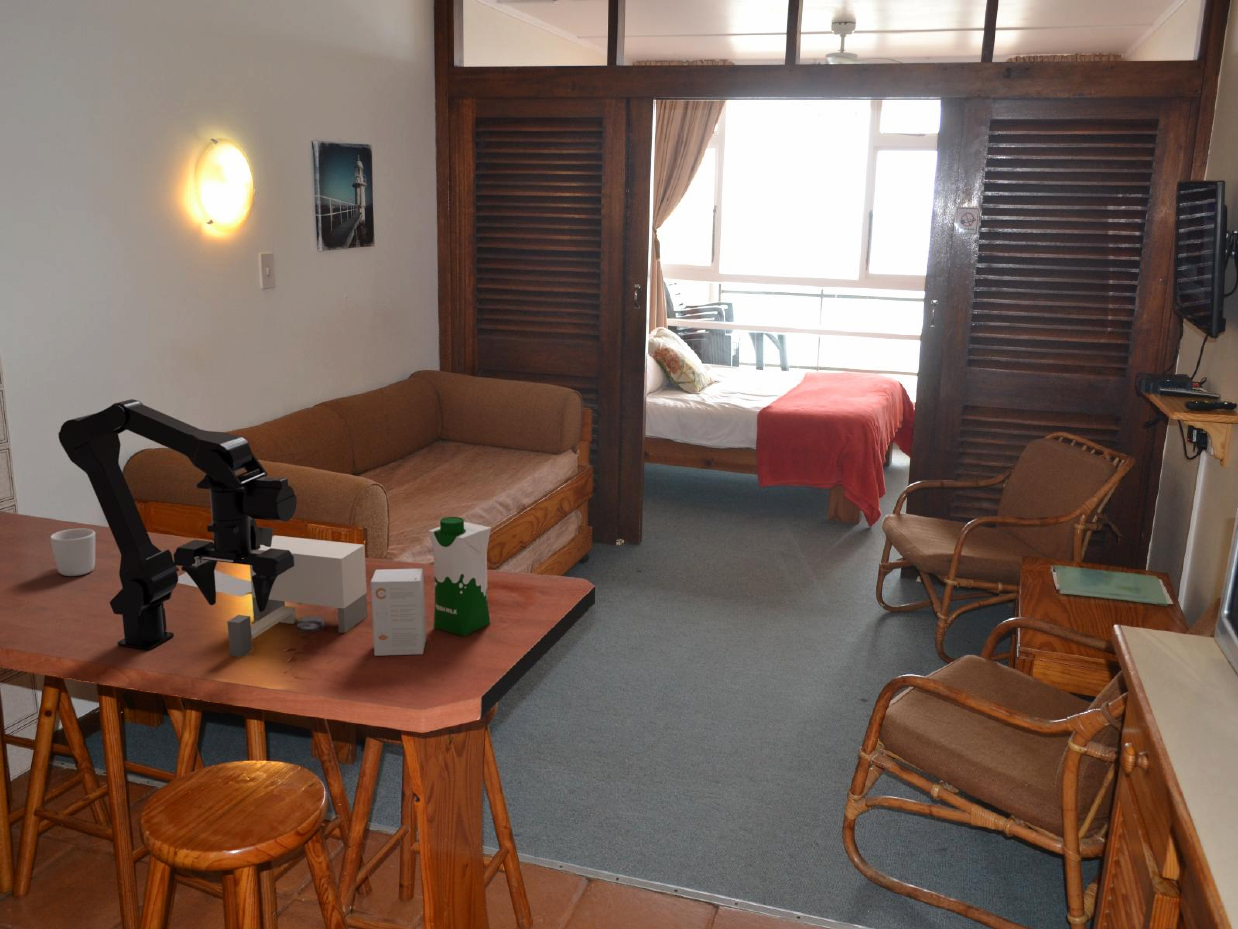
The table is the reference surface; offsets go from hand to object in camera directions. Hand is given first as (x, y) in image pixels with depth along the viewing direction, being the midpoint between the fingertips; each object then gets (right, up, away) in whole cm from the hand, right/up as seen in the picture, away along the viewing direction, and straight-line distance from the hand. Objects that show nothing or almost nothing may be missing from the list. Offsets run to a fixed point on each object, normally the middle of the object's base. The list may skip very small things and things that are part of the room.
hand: (237, 607), depth 173 cm
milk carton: (+35, -5, +15) cm, 38 cm away
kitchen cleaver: (-10, -1, +30) cm, 32 cm away
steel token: (+8, -5, +13) cm, 16 cm away
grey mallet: (+2, -6, +8) cm, 10 cm away
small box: (+26, -8, +5) cm, 27 cm away
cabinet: (+7, -4, +17) cm, 19 cm away
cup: (-46, +2, +40) cm, 61 cm away
